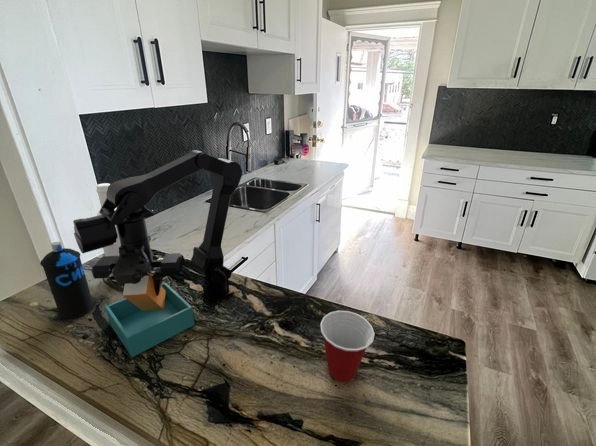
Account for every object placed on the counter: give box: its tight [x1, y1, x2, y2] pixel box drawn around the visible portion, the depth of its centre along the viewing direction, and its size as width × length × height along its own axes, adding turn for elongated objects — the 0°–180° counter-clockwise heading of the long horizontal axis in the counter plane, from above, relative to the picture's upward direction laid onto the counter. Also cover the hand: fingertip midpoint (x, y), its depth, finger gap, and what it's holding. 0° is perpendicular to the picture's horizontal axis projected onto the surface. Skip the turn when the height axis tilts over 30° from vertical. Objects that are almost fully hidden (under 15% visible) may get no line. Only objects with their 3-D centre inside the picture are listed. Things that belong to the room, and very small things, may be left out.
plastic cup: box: [319, 310, 375, 383], centre depth 65 cm, size 11×11×12 cm
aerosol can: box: [39, 241, 96, 320], centre depth 81 cm, size 8×8×20 cm
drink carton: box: [122, 273, 166, 311], centre depth 76 cm, size 5×5×13 cm
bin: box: [104, 282, 195, 358], centre depth 79 cm, size 15×15×6 cm
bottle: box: [95, 182, 121, 283], centre depth 95 cm, size 8×8×30 cm
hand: (146, 295), depth 76 cm, fingers closed on drink carton, 5 cm apart
